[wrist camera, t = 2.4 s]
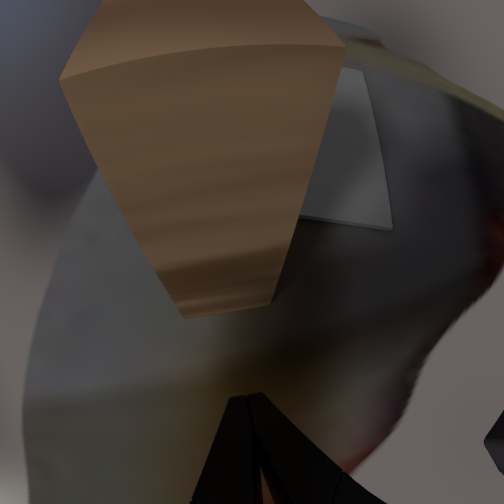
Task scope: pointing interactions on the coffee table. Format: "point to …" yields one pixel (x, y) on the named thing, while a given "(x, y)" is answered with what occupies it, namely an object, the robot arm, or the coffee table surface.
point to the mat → (349, 163)
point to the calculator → (496, 443)
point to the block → (207, 134)
